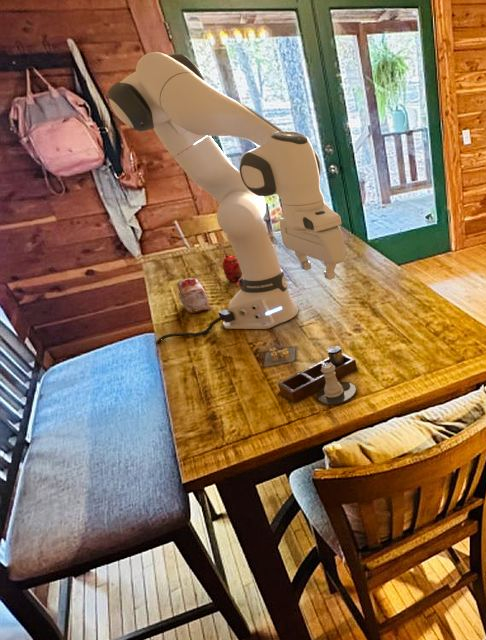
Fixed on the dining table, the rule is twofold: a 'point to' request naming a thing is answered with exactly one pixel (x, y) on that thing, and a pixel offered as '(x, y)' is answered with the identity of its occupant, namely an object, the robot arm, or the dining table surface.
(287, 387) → the spice rack
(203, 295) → the food item
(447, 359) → the dining table surface
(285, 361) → the dice set
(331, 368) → the rook chess piece
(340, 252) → the robot arm
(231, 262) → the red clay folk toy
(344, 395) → the coaster
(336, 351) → the spice tin
